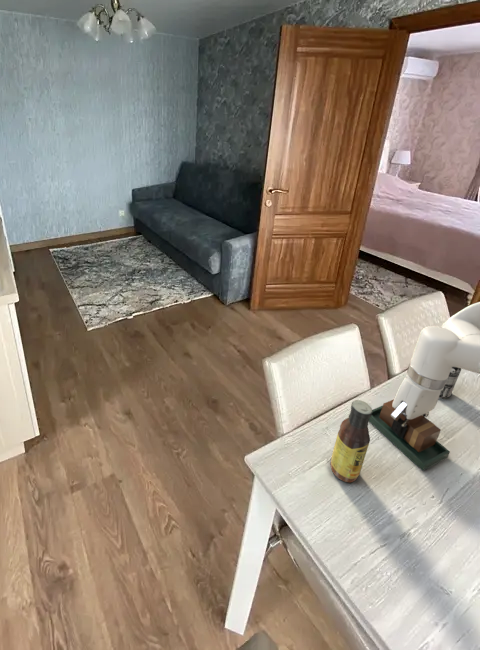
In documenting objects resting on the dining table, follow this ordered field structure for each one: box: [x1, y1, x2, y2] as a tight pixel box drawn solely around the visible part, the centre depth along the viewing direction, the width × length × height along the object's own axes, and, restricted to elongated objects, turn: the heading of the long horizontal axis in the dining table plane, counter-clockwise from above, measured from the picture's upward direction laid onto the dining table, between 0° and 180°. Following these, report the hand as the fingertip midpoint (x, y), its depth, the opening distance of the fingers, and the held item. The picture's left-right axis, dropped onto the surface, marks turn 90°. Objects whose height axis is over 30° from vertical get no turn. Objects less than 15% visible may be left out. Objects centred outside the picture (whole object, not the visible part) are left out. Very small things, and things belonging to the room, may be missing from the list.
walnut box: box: [379, 398, 442, 452], centre depth 88 cm, size 11×6×5 cm, turn 22°
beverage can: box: [439, 367, 462, 399], centre depth 102 cm, size 7×7×12 cm
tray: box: [368, 405, 451, 472], centre depth 90 cm, size 16×9×2 cm, turn 22°
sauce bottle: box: [330, 399, 373, 483], centre depth 78 cm, size 6×6×20 cm
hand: (406, 428), depth 89 cm, fingers closed on walnut box, 6 cm apart
